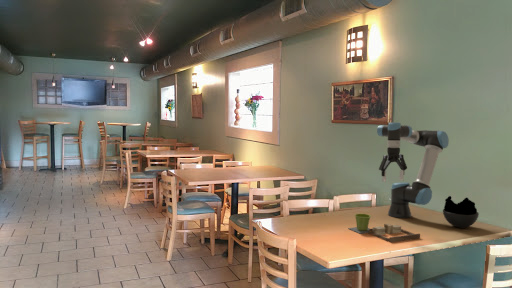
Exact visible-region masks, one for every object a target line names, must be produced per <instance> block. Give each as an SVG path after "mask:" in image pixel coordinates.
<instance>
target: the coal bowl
mask: <svg viewBox="0 0 512 288" xmlns="http://www.w3.org/2000/svg"><path fill="white" fill-rule="evenodd" d="M444 201H445V203H444V207H443V209H442V213H443V214H442V215H443V216H444V219H445V220H446V221H447V222H448V223H449V224H450V225H451V226H453V227H457V228H460V229H462V228H468V227H471V226H473V225H474V224H475V223H476V221H477V220H478V218H479V216H480V215H479V214H480V213H479V212H478V209H477V207H476V206H475V205H476V203H475V202H474V201H472V200H470V199H469V197H465V198H463V199H462V201H459V202H457V203H456V202H455V201H454V200H452V196H451V195H448V197H447V198H445V200H444Z"/></svg>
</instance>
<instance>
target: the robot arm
mask: <svg viewBox="0 0 512 288" xmlns="http://www.w3.org/2000/svg"><path fill="white" fill-rule="evenodd" d="M376 134H377V135H378V136H379V137H387V144H386V145H387V149H386V151H387V154H383V157H382V161H381V162H380V165H379V167H378V170H379V171H381V181H382V182H384V183H386V182H387V171H386V170H387V169H388V167H389V166H390V164H392V163H396V164H397V166H398V168H400V169H399V181H404V175H405V171H406V170H407V169H408V167H407V166H408V165H407V164H406V161H405V159H404V158H405V157H404V154H400V153H401V148H400V147H401V140H402V141H406V142H408V143H409V144H413V145H416V146H419V147H424V148H425V152H424V154H423V156H422V161H421V164H420V167H419V168H418V169H419V170H418V172H417V176H416V179H415V180H414V181H412V184H411V185H410V183H409V182H394V183H392V184H391V188H390V190H391V191H390V192H391V193H390V195H391V197H390V200H391V201H390V206H389V209H388V213H387V215H388V216H389V217H393V218H399V219H409V218H411V217H412V212H411V209H410V204H415V205H421V206H425V205H428V204H429V203H430V202H431V201H432V197H433V191H432V188H431V185H430V182H431V179H432V177H433V173H434V169H435V167H436V163H437V161H438V158H439V154H440V153H442V152H443V149H446V148H448V146H449V136H448V133H447V132H446V131H443V130H426V129H424V130H413V128H412V126H410V125H405V124H404V125H401V122H388V125H387V124H382V125H381V124H380V125H378V126H377V129H376Z"/></svg>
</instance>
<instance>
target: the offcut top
mask: <svg viewBox="0 0 512 288" xmlns="http://www.w3.org/2000/svg"><path fill="white" fill-rule="evenodd" d="M393 225H394V224H390V223H384V224H383V227H384V228H385V234H387V235H391V234H393Z"/></svg>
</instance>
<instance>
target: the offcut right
mask: <svg viewBox="0 0 512 288" xmlns="http://www.w3.org/2000/svg"><path fill="white" fill-rule="evenodd" d="M392 225H393V234H394V235H395V234H400V233H402V232H401V229H402V226H401V225H399V224H392Z"/></svg>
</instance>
